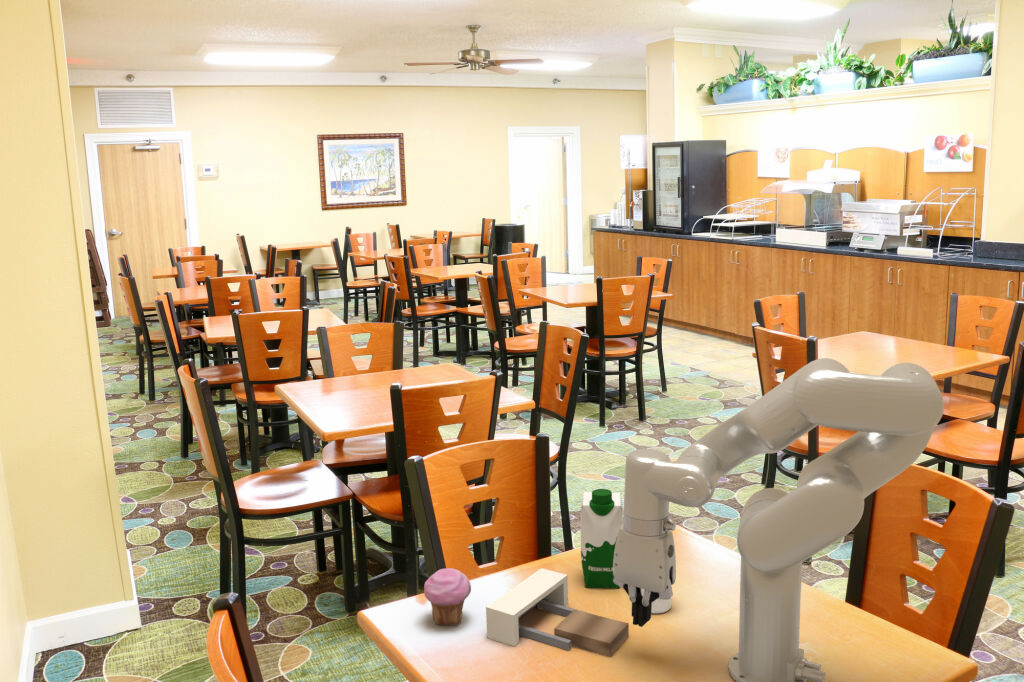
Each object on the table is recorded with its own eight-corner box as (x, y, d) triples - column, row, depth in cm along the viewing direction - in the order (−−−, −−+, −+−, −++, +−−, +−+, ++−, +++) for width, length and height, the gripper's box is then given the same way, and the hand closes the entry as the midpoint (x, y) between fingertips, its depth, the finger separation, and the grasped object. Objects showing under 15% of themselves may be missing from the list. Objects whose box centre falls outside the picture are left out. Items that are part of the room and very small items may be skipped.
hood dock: (608, 615, 165) (608, 585, 164) (557, 660, 150) (556, 628, 149) (542, 596, 173) (541, 568, 172) (487, 637, 158) (485, 607, 157)
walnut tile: (628, 638, 157) (628, 623, 157) (610, 659, 150) (610, 643, 150) (574, 624, 163) (574, 609, 162) (554, 643, 156) (554, 628, 156)
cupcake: (422, 632, 161) (420, 581, 159) (428, 609, 169) (426, 561, 167) (470, 631, 160) (468, 581, 159) (473, 609, 169) (472, 561, 167)
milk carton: (580, 589, 176) (579, 496, 172) (581, 570, 185) (580, 480, 181) (624, 590, 175) (623, 496, 171) (623, 571, 184) (623, 481, 180)
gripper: (695, 525, 145) (690, 626, 149) (616, 506, 154) (612, 601, 157) (677, 540, 139) (672, 645, 143) (595, 519, 147) (592, 618, 151)
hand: (640, 622), depth 150 cm, fingers closed
